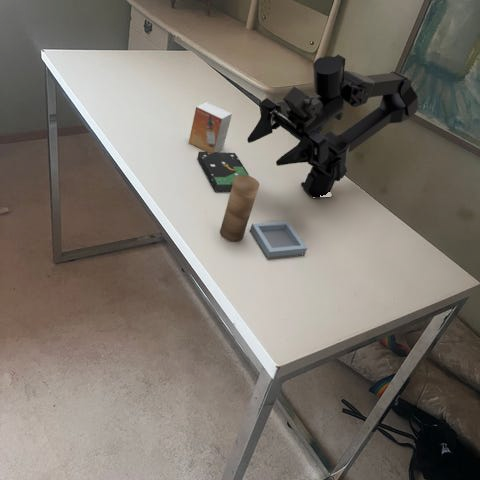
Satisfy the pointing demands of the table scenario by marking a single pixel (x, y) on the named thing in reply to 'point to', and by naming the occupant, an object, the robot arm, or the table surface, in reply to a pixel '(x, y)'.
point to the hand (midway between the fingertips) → (261, 152)
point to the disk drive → (221, 169)
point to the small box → (209, 127)
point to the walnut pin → (239, 207)
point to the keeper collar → (277, 239)
